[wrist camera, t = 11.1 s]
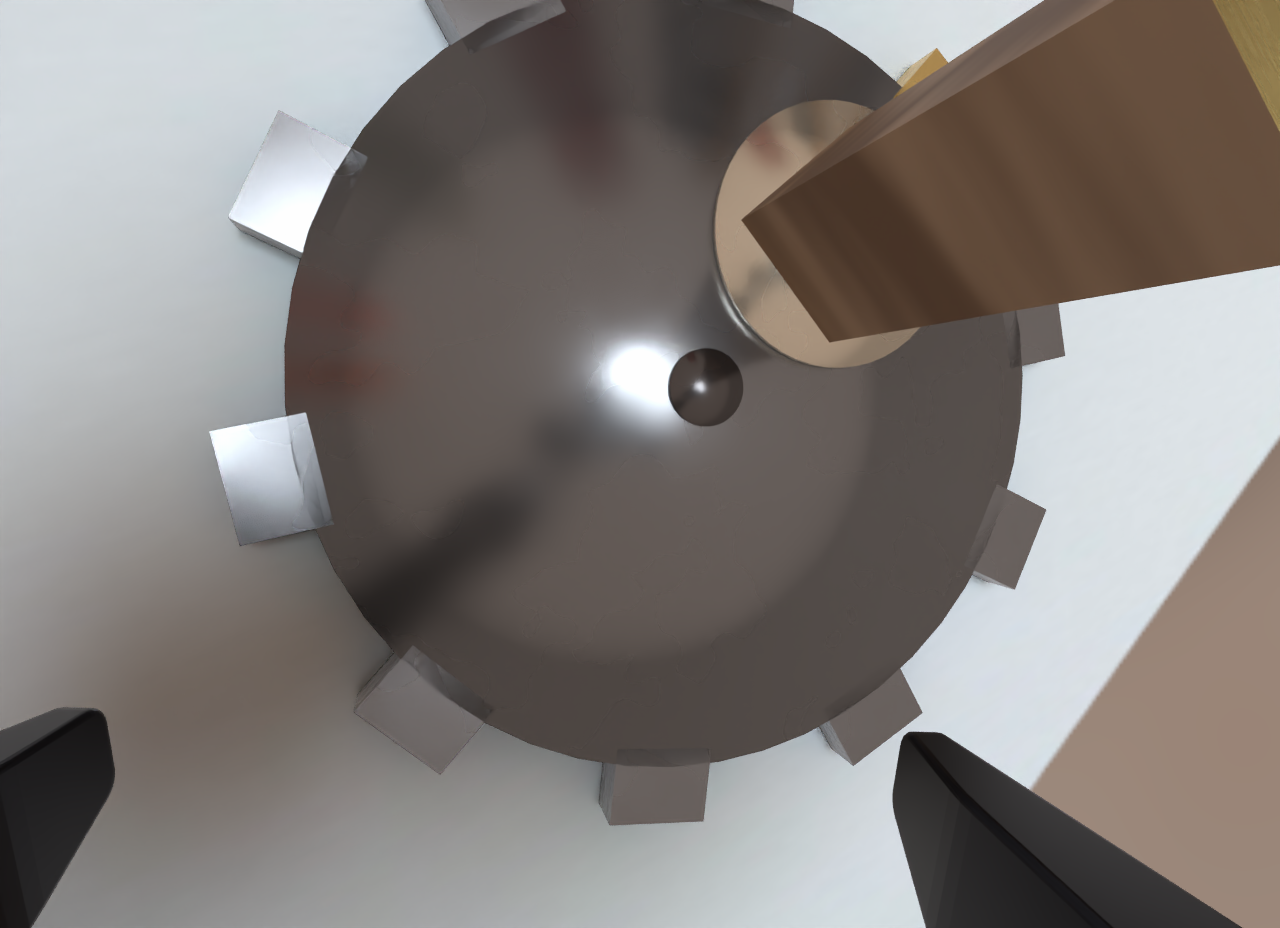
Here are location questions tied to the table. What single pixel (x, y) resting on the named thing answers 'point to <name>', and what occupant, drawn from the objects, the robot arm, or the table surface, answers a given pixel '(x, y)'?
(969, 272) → the gold-topped wooden block
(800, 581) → the sprocket plate
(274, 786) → the table surface
